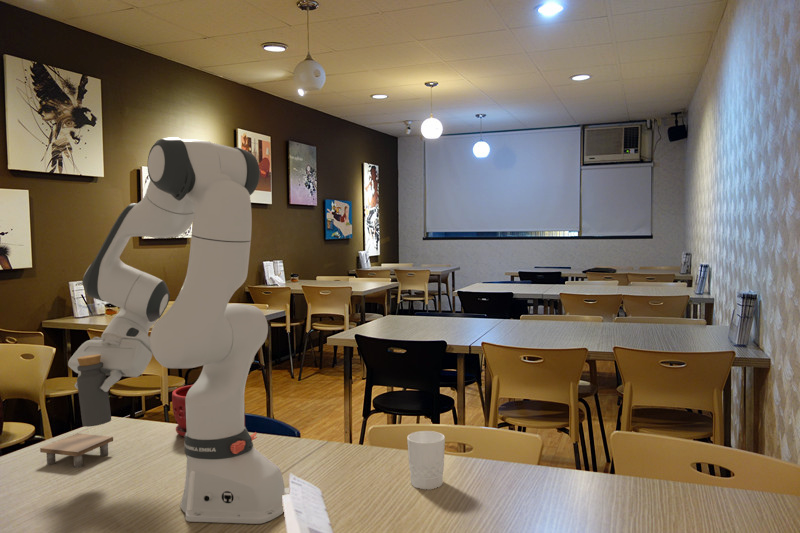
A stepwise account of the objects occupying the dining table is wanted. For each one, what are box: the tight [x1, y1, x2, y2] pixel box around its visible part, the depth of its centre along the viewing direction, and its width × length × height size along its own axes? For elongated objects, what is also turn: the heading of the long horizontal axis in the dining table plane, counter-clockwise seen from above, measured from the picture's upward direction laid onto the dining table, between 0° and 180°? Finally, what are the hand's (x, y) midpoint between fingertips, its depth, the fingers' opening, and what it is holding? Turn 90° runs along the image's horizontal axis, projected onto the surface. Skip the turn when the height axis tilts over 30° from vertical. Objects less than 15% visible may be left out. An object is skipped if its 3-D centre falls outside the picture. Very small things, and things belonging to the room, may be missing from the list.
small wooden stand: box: [39, 432, 114, 469], centre depth 148 cm, size 11×11×4 cm
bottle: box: [76, 354, 112, 427], centre depth 137 cm, size 6×6×15 cm
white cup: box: [406, 430, 446, 490], centre depth 129 cm, size 8×8×10 cm
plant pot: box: [171, 384, 194, 438], centre depth 166 cm, size 13×13×12 cm
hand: (90, 389), depth 136 cm, fingers closed on bottle, 6 cm apart
